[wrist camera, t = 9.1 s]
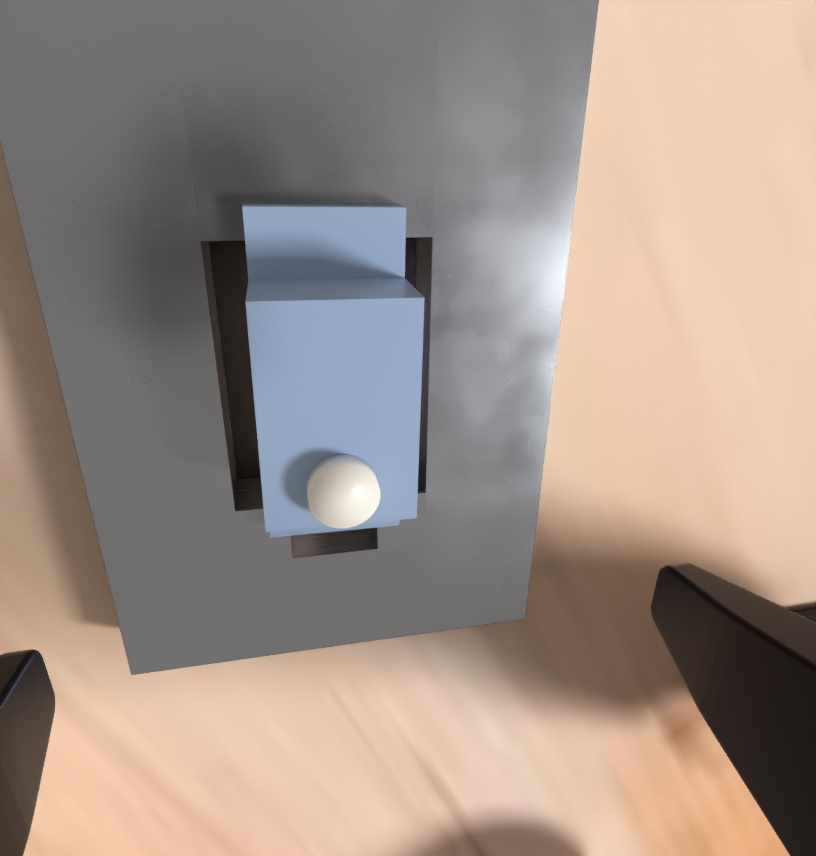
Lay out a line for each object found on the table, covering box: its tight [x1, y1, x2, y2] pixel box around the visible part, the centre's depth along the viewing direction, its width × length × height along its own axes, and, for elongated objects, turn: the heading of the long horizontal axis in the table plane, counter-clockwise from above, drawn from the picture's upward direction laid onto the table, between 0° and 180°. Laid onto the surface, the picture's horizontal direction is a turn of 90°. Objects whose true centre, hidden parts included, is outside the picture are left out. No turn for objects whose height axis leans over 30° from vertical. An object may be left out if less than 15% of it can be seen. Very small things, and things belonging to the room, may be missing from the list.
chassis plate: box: [0, 0, 599, 675], centre depth 19 cm, size 20×14×2 cm
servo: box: [242, 204, 425, 538], centre depth 17 cm, size 4×10×6 cm, turn 178°
